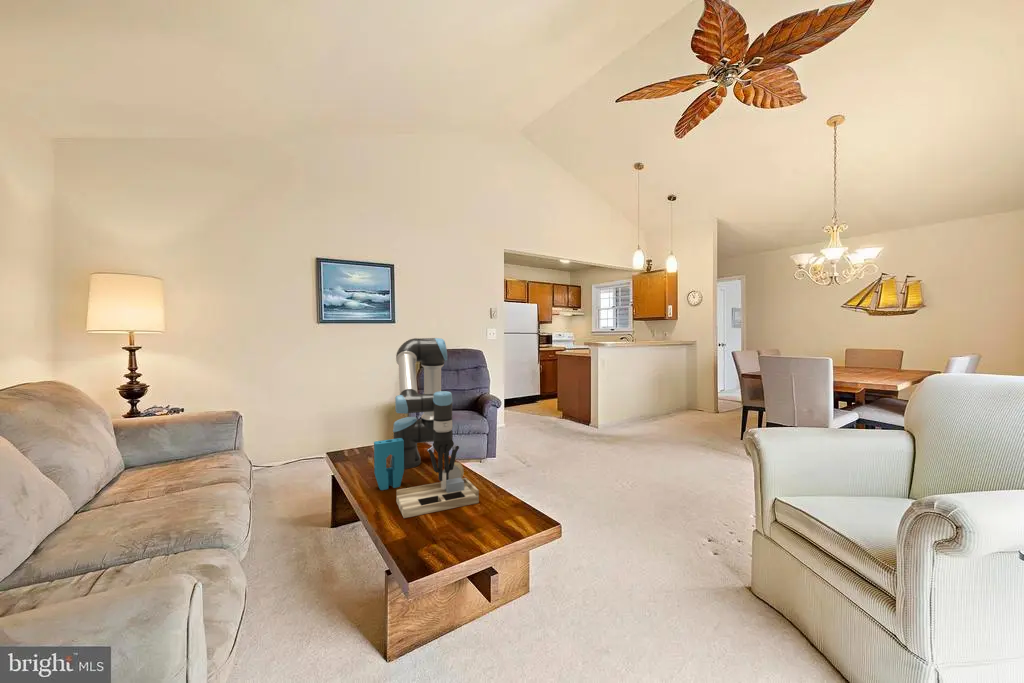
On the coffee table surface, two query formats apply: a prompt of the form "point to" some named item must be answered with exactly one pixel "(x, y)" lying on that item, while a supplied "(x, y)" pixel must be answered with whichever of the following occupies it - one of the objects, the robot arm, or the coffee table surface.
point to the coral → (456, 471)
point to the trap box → (434, 498)
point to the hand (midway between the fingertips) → (443, 488)
